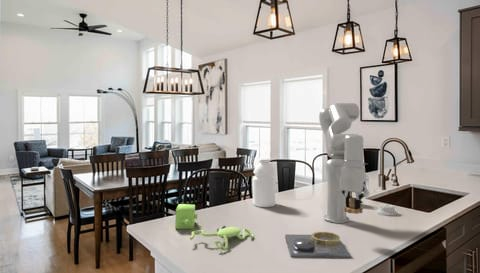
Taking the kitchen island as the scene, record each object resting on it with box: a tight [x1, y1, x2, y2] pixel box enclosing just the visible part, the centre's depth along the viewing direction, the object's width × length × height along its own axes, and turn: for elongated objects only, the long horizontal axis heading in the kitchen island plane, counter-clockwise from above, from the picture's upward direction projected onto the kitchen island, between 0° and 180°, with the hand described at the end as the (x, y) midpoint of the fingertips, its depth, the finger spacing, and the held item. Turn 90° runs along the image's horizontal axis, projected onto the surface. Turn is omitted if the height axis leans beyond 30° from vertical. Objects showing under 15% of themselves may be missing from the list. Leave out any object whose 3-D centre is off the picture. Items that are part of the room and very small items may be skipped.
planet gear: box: [344, 197, 364, 215], centre depth 139 cm, size 8×8×6 cm
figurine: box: [189, 225, 255, 254], centre depth 140 cm, size 18×27×6 cm
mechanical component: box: [376, 204, 398, 217], centre depth 181 cm, size 10×4×10 cm
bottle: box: [252, 157, 277, 208], centre depth 200 cm, size 14×14×28 cm
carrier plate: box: [284, 231, 351, 258], centre depth 133 cm, size 20×22×4 cm
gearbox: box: [175, 203, 198, 230], centre depth 160 cm, size 18×10×10 cm, turn 4°
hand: (353, 207), depth 139 cm, fingers closed on planet gear, 3 cm apart
